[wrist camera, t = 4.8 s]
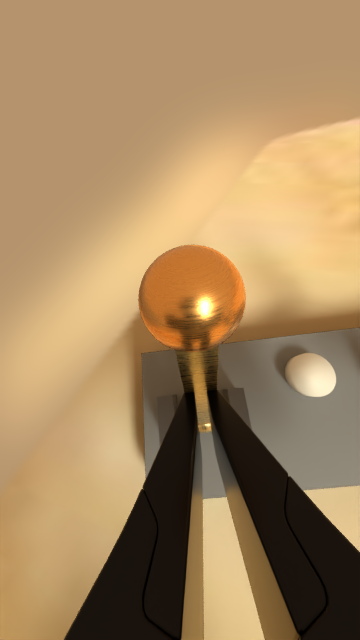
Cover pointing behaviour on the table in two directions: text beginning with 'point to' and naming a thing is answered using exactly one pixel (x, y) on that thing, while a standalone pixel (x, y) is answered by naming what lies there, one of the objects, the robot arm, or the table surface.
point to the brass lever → (193, 313)
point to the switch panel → (274, 404)
